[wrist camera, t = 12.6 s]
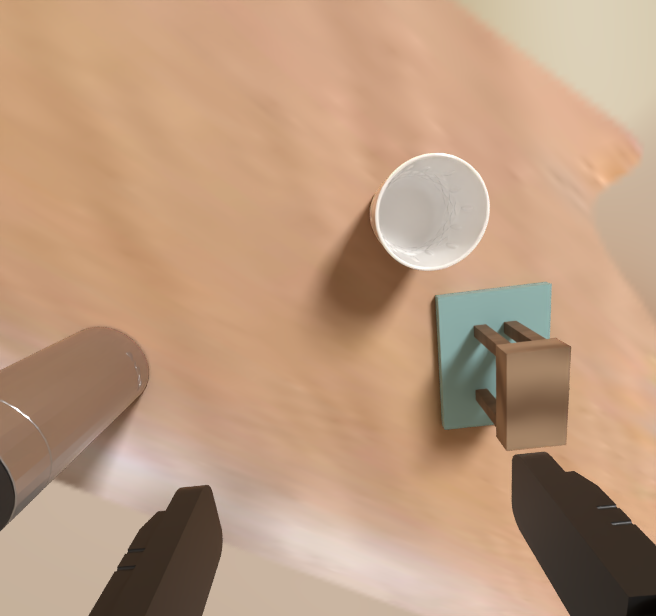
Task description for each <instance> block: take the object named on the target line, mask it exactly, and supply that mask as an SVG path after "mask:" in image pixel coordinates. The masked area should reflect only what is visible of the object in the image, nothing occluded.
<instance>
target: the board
mask: <svg viewBox="0 0 656 616" xmlns="http://www.w3.org/2000/svg"><path fill="white" fill-rule="evenodd" d="M551 286H552V284H550V283H547V282H542V283H533V284H525V285H517V286H509V287H500V288H492V289H484V290H476V291H468V292H459V293H451V294H443V295H435V301H436V320H437V339H438V358H439V378H440V397H441V416H442V426H443V428H444V430H447V429H457V428H466V427H476V426H485V425H494V424H493V422H492V421H491V420H490V418H489V417H488V416H487V414H486V413H485V412H484V410H483V409H482V408H481V406H480V405H479V404H478V402H477V401H476V393H475V390H478V389H488V390H489V392H490V393H491V394H492V395H493V396H494V397H495V399H496V356H495V355H494V354H493V353H492V352H490V351H489V350H488V349H487V348H486V347H485V346H484V345H483V344H482V343H480V342H479V341H478V340H477V339H476V338H475V337H474V325H483V324H486V325H488V326H489V327H490V328H492V329H493V330H494V331H496V332H497V333H498V334H500V335H501V336H502V337H504V338H505V339H506V340H508V341H509V342H510V343H517V342H515V341H514V340H513V339H511V338H510V337H509V336H507V335H506V334H504V322H508V321H518V322H519V323H521V324H523V325H524V326H526V327H528V328H529V329H531V330H532V331H534V332H536V333H537V334H539V335H541V336H542V337H544V338H546V339H550V315H551Z"/></svg>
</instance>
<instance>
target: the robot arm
mask: <svg viewBox="0 0 656 616" xmlns="http://www.w3.org/2000/svg"><path fill="white" fill-rule="evenodd" d="M148 376H149V369H148V363H147V360H146V358H145V355H144V353H143V352H142V350H141V349H140V347H139V346H138V345H137V344H136V343H135V342H134V341H133V340H132V339H131V338H129V337H128V336H126V335H125V334H123V333H121V332H119V331H117V330H114V329H110V328H106V327H93V328H87V329H85V330H82V331H80V332H78V333H75V334H73V335H71V336H69V337H67V338H65V339H63V340H61V341H59V342H57V343H55V344H53V345H51V346H49V347H47V348H45V349H42V350H40V351H38V352H36V353H34V354H32V355H30V356H28V357H26V358H24V359H22V360H20V361H18V362H16V363H14V364H12V365H10V366H8V367H6V368H4V369H2V370H0V531H1V530H2V529H3V528H4V527H5V526H6V525H7V524H8V523H9V522H10V521H11V520H12V519H13V518H14V517H15V516H16V515H18V514H19V513H20V512H21V511H22V510H23V509H24V508H25V507H26V506H27V505H28V504H29V503H30V502H31V501H32V500H33V499H34V498H35V497H36V496H37V495H38V494H39V493H40V492H41V491H42V490H43V489H44V488H45V487H46V486H47V485H48V484H49V483H50V482H51V481H52V480H53V479H54V478H55V477H56V476H57V475H58V474H59V473H60V472H61V471H62V470H63V469H65V468H66V467H67V466H68V465H69V464H70V463H71V462H72V461H73V460H74V459H75V458H76V457H77V456H78V455H79V454H80V453H81V452H82V451H83V450H84V449H85V448H86V447H87V446H88V445H89V444H90V443H91V442H92V441H93V440H94V439H95V438H96V437H97V436H98V435H99V434H100V433H101V432H103V431H104V430H105V429H106V428H107V427H108V426H109V425H110V424H111V423H112V422H113V421H114V420H115V419H116V418H117V417H118V416H119V415H120V414H121V413H122V412H123V411H124V410H125V409H126V408H127V407H128V406H129V405H130V404H131V403H132V402H133V401H134V400H135V399H136V398H137V397H138V396H139V395H140V394H141V393H142V392H143V390H144V389H145V387H146V385H147V382H148ZM512 509H513V514H514V517H515V520H516V523H517V525H518V528H519V530H520V532H521V533H522V535H523V537H524V538H525V540H526V542H527V543H528V545H529V547H530V548H531V550H532V552H533V554H534V555H535V557H536V559H537V560H538V562H539V564H540V565H541V567H542V569H543V570H544V572H545V574H546V576H547V577H548V579H549V581H550V582H551V584H552V586H553V587H554V589H555V591H556V592H557V594H558V596H559V597H560V599H561V601H562V603H563V604H564V606H565V608H566V609H567V611H568V613H569V614H570V616H656V545H655V544H654V543H653V542H652V541H651V540H650V539H649V538H648V537H647V536H646V535H645V534H644V533H643V532H642V531H641V530H640V529H639V528H638V527H637V526H636V525H633V524H632V522H631V519H630V518H629V517H628V516H627V515H626V514H625V513H624V512H623V511H622V510H621V509H620V508H617V507H616V504H615V503H614V502H613V501H612V500H611V499H610V498H609V497H608V496H607V495H606V494H605V493H604V492H603V491H602V490H601V489H600V488H599V486H597V485H596V484H594V483H593V482H591V481H589V480H588V479H586V478H584V477H583V476H581V475H580V474H578V473H576V472H575V471H571V472H565V471H564V470H563V469H562V468H561V467H560V466H559V464H558V463H557V462H556V461H555V460H554V459H553V458H552V457H551V456H550V455H549V454H548V453H546V452H537V453H527V454H517V455H514V456H513V459H512ZM222 541H223V538H222V529H221V525H220V521H219V517H218V513H217V509H216V505H215V501H214V497H213V493H212V489H211V487H210V486H209V485H202V486H193V487H183V488H179V489H178V490H177V491H176V493H175V495H174V496H173V498H172V500H171V502H170V504H169V506H168V507H167V509H166V511H158V512H157V513H156V514H155V515H154V516H153V517H152V518H151V519H150V520H149V521H148V522H147V523H146V524H145V525H144V526H143V527H142V528H141V529H140V530H139V532H138V533H137V535H136V537H135V538H134V540H133V542H132V543H131V545H130V547H129V549H128V553H127V554H125V555H124V557H123V558H122V560H121V562H120V564H119V565H118V569H117V571H116V572H114V574H113V576H112V577H111V579H110V581H109V582H108V584H107V585H106V587H105V589H104V591H103V592H102V594H101V596H100V597H99V599H98V601H97V602H96V604H95V606H94V608H93V609H92V611H91V613H90V614H89V616H202V614H203V611H204V607H205V604H206V601H207V598H208V595H209V592H210V589H211V586H212V582H213V579H214V576H215V573H216V569H217V566H218V563H219V560H220V557H221V551H222Z"/></svg>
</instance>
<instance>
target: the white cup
mask: <svg viewBox="0 0 656 616" xmlns="http://www.w3.org/2000/svg"><path fill="white" fill-rule="evenodd" d="M369 210H370V221H371V226H372V229H373V231H374V233H375V235H376V237H377V239H378V241H379V242H380V243H381V245H382V246H383V247H384V248H385V250H386V251H387V252H388V253H389V254H390V255H391V256H392V257H393V258H394V259H395V260H396V261H398V262H399V263H401V264H403V265H405V266H407V267H409V268H412V269H416V270H422V271H434V270H440V269H444V268H447V267H450V266H452V265H454V264H456V263H458V262H460V261H461V260H462V259H464V258H465V257H466V256H468V255H469V254H470V253H471V252H472V251H473V250H474V248H475V247H476V246H477V245H478V243H479V242H480V240H481V238H482V236H483V234H484V232H485V230H486V227H487V224H488V219H489V212H490V203H489V196H488V192H487V188H486V186H485V184H484V181H483V180H482V178H481V176H480V175H479V174H478V172H477V171H476V170H475V169H474V168H473V167H472V166H471V165H470V164H468V163H467V162H466V161H464V160H462V159H460V158H458V157H456V156H453V155H449V154H444V153H429V154H424V155H420V156H417V157H414V158H412V159H410V160H408V161H406V162H405V163H403V164H402V165H400V166H399V167H398V168H397V169H396V170H395V171H394V172H393V173H392V174H391V175H390V176H389V177H388V178H387V179H386V180H384V182H383V183H382V184H381V185H380V187H379V188H378V189H377V191H376V193H375V195H374V197H373V199H372V203H371V206H370V209H369Z"/></svg>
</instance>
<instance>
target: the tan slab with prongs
mask: <svg viewBox="0 0 656 616" xmlns="http://www.w3.org/2000/svg"><path fill="white" fill-rule="evenodd" d="M504 334H506V335H507V336H509V337H510V338H511V339H513V340H514V341H515V342H517V343H510V342H509V341H508V340H506V339H505V338H504V337H502V336H501V335H500V334H498V333H497V332H496V331H494V330H493V329H492V328H490V327H489V326H488V325H486V324H483V325H474V337H475V338H476V339H477V340H478V341H479V342H480V343H482V344H483V345H484V346H485V347H486V348H487V349H488V350H489V351H490V352H492V353H493V354H494V355H495V356H496V399H495V397H494V396H493V395H492V394H491V393H490V392H489V390H488V389H478V390H475V393H476V401H477V402H478V404H479V405H480V406H481V408H482V409H483V410H484V412H485V413H486V414H487V416H488V417H489V418H490V420H491V421H492V422H493V424H494V425H495V426H496V437H497V438H498V440H499V441H500V442H501V444H502V445H503V447H504V448H505V449H506V451H512V450H522V449H531V448H541V447H551V446H561V445H566V439H567V420H568V400H569V380H570V360H571V346H569V345H567V344H566V343H564V342H562V341H560V340H559V339H557V338H551V339H546V338H544V337H542V336H541V335H539V334H537V333H536V332H534V331H532V330H531V329H529V328H528V327H526V326H524V325H523V324H521V323H519V322H518V321H508V322H504Z"/></svg>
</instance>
